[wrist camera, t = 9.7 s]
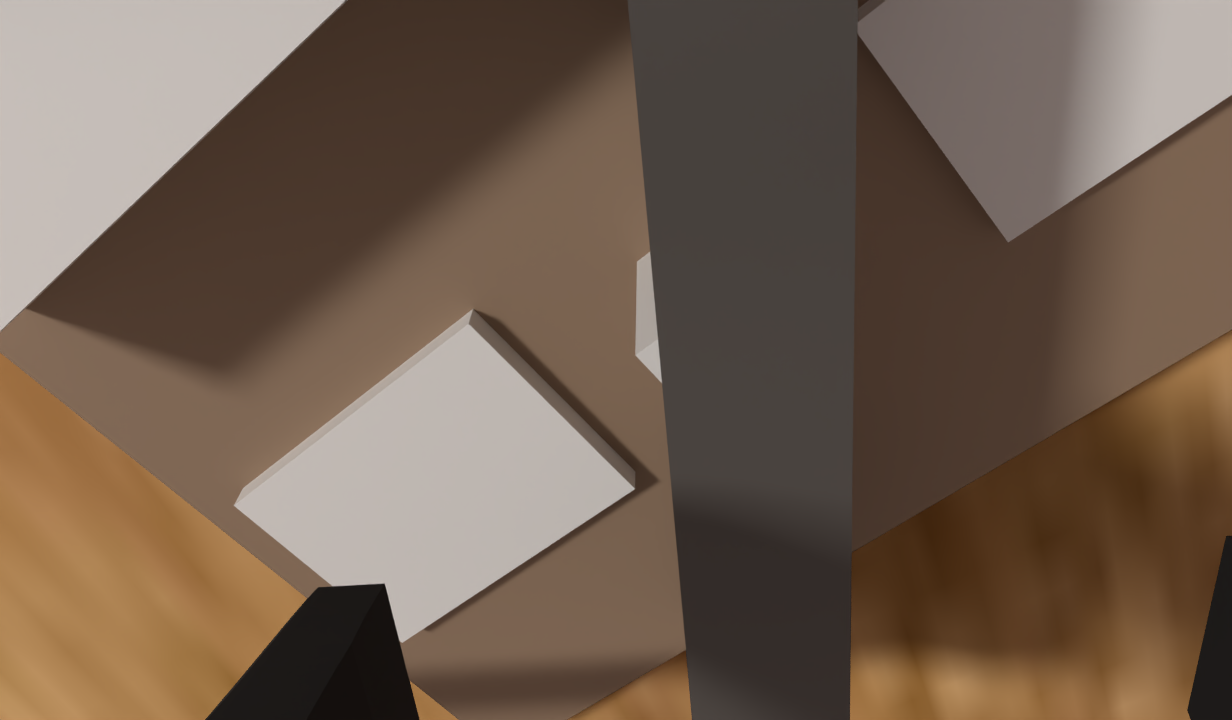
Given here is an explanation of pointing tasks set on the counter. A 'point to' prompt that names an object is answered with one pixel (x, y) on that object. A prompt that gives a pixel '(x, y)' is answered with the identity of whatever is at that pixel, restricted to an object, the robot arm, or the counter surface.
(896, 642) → the counter surface
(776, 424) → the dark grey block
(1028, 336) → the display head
